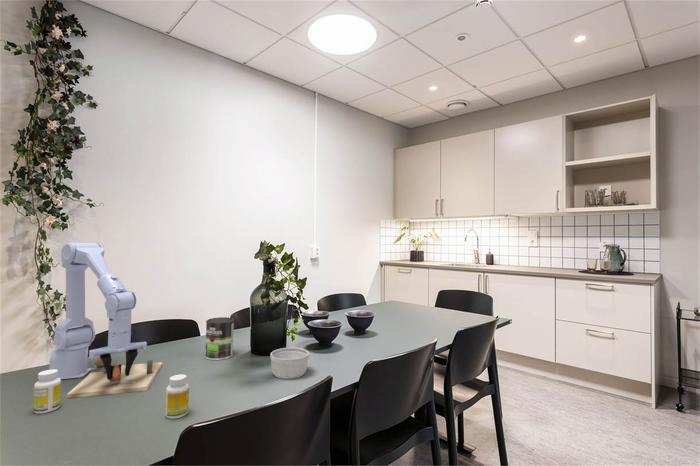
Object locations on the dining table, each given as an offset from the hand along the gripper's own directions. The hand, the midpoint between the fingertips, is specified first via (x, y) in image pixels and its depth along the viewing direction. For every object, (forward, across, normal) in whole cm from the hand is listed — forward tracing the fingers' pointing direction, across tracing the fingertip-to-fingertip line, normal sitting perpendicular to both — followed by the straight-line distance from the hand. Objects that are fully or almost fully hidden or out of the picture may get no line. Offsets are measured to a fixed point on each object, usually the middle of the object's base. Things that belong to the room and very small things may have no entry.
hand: (118, 376), depth 106 cm
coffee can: (+4, +35, +10) cm, 37 cm away
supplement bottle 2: (+4, +9, -28) cm, 30 cm away
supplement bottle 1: (+4, -16, -4) cm, 17 cm away
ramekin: (+4, +46, -23) cm, 52 cm away
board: (+3, +2, +7) cm, 8 cm away
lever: (+2, 0, +7) cm, 7 cm away
